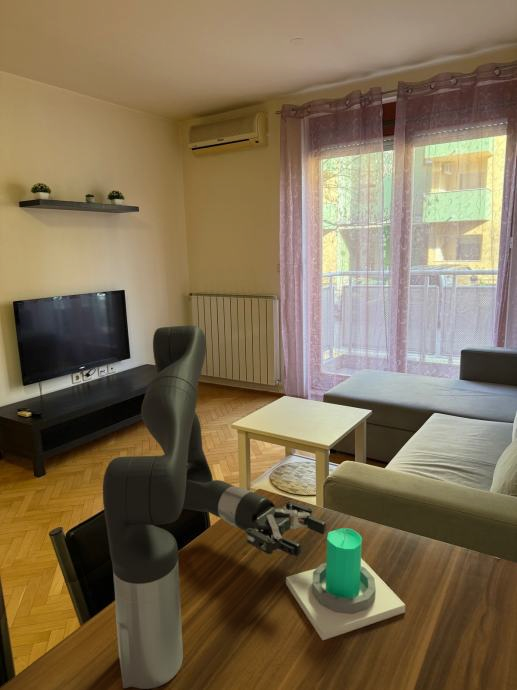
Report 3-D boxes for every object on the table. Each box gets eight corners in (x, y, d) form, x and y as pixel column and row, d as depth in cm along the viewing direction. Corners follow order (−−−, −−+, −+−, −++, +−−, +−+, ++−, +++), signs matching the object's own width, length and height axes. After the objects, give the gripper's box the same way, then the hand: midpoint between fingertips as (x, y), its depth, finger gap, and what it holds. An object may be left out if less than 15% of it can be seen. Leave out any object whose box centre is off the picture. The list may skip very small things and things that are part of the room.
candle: (357, 579, 88) (360, 520, 86) (361, 603, 82) (364, 541, 80) (324, 577, 89) (326, 519, 86) (326, 601, 83) (328, 539, 80)
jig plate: (322, 640, 77) (322, 621, 76) (286, 584, 89) (286, 567, 89) (404, 612, 82) (405, 594, 82) (359, 563, 95) (360, 547, 94)
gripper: (221, 507, 92) (290, 539, 82) (266, 479, 103) (333, 504, 93) (222, 542, 93) (290, 578, 83) (267, 511, 104) (332, 539, 94)
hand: (312, 539), depth 88 cm, fingers open, 8 cm apart
